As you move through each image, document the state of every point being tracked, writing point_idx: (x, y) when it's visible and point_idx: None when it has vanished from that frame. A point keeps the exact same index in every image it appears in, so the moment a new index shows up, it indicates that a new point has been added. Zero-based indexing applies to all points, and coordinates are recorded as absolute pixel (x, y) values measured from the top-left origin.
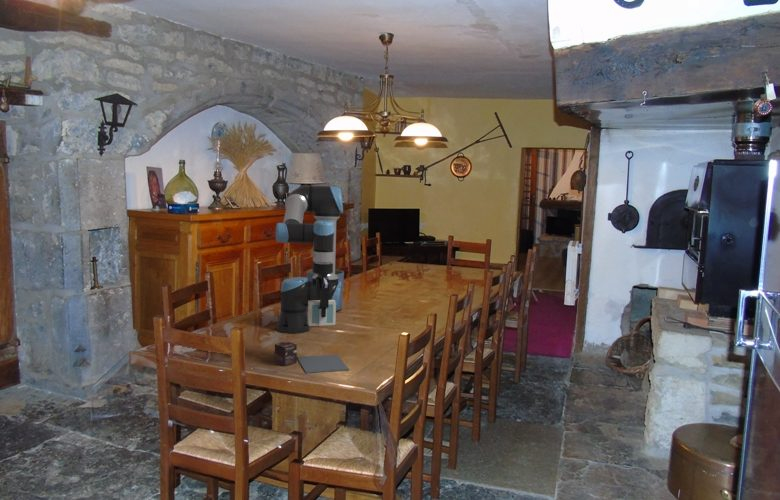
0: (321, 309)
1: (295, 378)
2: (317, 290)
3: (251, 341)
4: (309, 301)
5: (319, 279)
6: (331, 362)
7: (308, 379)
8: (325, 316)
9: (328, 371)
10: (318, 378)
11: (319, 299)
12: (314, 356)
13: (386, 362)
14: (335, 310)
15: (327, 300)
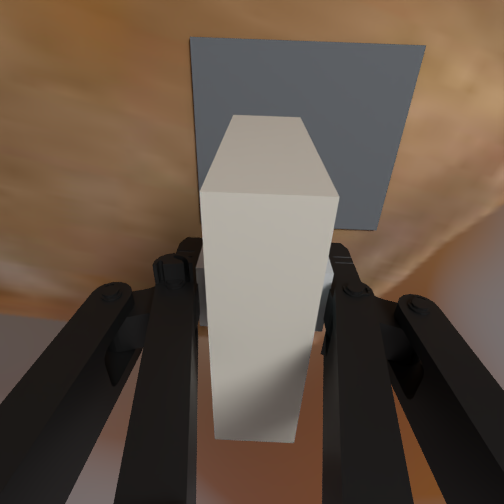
0: (324, 311)
1: (403, 265)
2: (69, 481)
3: (4, 313)
4: (252, 437)
5: None
6: (302, 106)
7: (434, 233)
8: (344, 247)
9: (397, 148)
10: (443, 201)
11: (197, 368)
12: (203, 158)
13: None
14: (317, 155)
15: (482, 385)
